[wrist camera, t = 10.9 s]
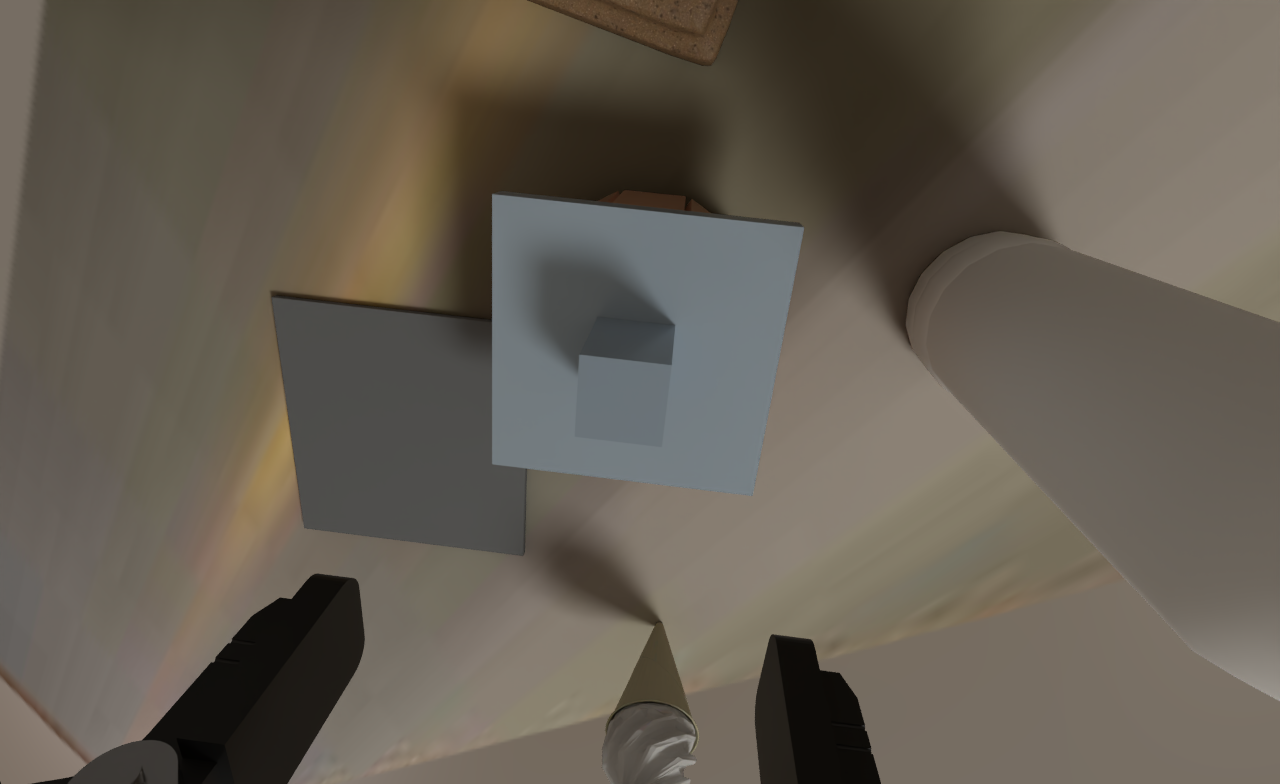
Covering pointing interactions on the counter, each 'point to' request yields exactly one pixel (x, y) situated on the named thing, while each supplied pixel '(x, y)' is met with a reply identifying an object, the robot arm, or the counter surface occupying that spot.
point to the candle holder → (658, 23)
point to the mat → (396, 425)
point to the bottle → (1127, 424)
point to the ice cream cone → (651, 722)
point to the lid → (636, 339)
